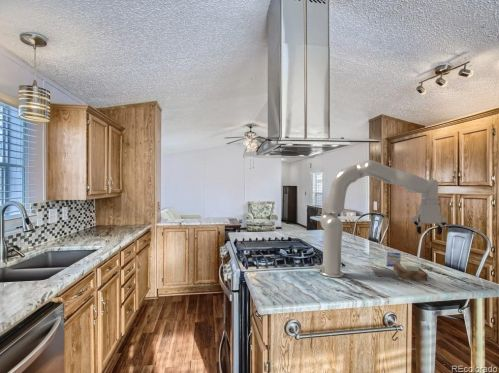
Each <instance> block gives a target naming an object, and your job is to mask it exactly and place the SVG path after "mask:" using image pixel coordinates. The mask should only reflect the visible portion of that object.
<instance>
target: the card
mask: <svg viewBox="0 0 499 373" xmlns="http://www.w3.org/2000/svg"><path fill="white" fill-rule="evenodd" d="M400 264H401V266H402V267H403V268H404V269H405V270H410V271H419V268H420V266H419V265H417V264H416V263H415V262H413V261H401V260H400Z"/></svg>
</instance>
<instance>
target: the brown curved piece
mask: <svg viewBox="0 0 499 373" xmlns="http://www.w3.org/2000/svg"><path fill="white" fill-rule="evenodd" d="M392 270H393V272H394V273H395V274H396V275H397V276H398V277H399V279H401V280H408V281H410V280H411V281H416V282H417V281H419V282H428V274H429V273H428V272H426V271H425V270H423V269H422V268H420V267H419V271H410V270H405V269H404V268H403V267H402V266H401V263H400V264H396V263H394V267H392Z"/></svg>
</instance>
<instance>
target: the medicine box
mask: <svg viewBox="0 0 499 373" xmlns="http://www.w3.org/2000/svg"><path fill="white" fill-rule="evenodd" d="M401 256H402V255H401V252H399V251H391V250H390V251H389V250H384V265H385V266H386V267H392V268H393V267H394V263H396V264H401V258H402V257H401Z"/></svg>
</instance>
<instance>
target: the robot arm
mask: <svg viewBox="0 0 499 373" xmlns="http://www.w3.org/2000/svg"><path fill="white" fill-rule="evenodd" d="M364 177H370V178H373V179H376V180H378V181H381V182H383V183H386V184H390V185H395V186H400V187H404V189H405V191H407V192H408V193H410V194H421V197H420V198H421V199H420V200H421V202H420V203H421V204H419V206H418V210H417V211H418V212H417V214H416V216H415V215H414V216H413V217H411V220H412V223H413V224H414V225H415V226H416V233H417V234H418V235H419V234H420V235H422V226H421V225H423V224H432V225H433V224H436V225H437V227H436V234H437V235H440V236H442V233H443V227H444V226H445V225H446V224H447V222H448V220H449V219H448V218H447V217H444V216H442V214H441V211H442V210H441V207H440V205H439V204H441V202H442V201H441V200H439V181H438V180H437V179H426V178H424V177H421V176H418V175H415V174H412V173H410V172H406V171H403V170H400V169H397V168H392V167H390V166H387V165H385V164H383V163H381V162H378V161H376V160H371V159H369V160H364V161H362V162H359V163H356V164H354V165H350V166H348V167H345V168H342V169H341V170H340V171H339V173H338V174H336V175H335V177H334V178H333V180H332V182H331V186H330V190H329V195H328V197H326V198H325V199H324V201H323V203H322V208H321V214H320V226H321V228H322V229H323V230H324V232H323V242H322V245H323V247H322V248H323V249H322V263H321V264H320V265H318V264H314V266H313V267H314V268H313V269H316V270H319V274H320V275H322V276H324V277H329V278H342V277H343V276H344V274H345V272H343V271H342V270H341V269H342V238H343V231H344V225H343V222H342V220H341V219H340V218H339V215H340V214H341V213H342V212H344V208H345V203H346V195H347V192H348V191H347V190H348V189H349V186H350V185H351V184H353V183H355V182H357V181H358V180H360V179H362V178H364Z"/></svg>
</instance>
